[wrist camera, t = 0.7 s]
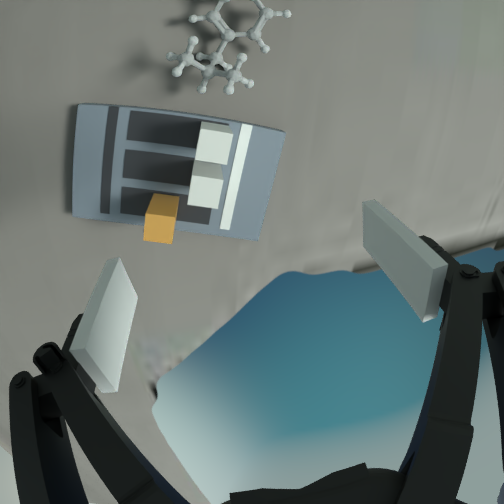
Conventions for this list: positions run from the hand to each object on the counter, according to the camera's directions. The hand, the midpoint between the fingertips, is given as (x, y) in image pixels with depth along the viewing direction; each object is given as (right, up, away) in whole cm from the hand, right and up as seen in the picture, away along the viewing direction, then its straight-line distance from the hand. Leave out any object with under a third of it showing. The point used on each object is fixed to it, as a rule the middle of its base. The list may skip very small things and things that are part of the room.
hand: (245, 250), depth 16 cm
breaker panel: (-9, +10, +20) cm, 24 cm away
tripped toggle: (-10, +5, +20) cm, 23 cm away
